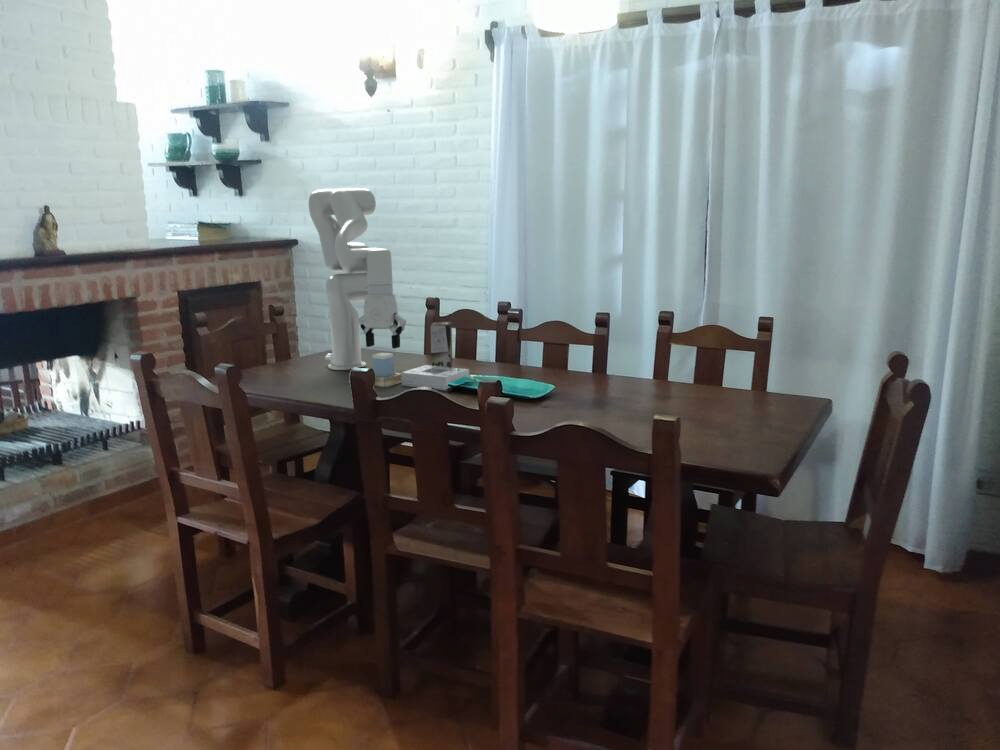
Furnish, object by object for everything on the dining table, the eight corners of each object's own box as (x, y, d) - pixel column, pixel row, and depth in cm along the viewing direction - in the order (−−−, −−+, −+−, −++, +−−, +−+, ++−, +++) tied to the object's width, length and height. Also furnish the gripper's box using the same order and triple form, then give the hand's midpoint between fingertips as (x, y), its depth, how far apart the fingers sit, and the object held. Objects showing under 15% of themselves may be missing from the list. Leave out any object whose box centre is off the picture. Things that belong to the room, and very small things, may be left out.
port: (401, 385, 230) (401, 371, 229) (426, 377, 241) (425, 363, 240) (446, 390, 223) (445, 375, 222) (469, 382, 234) (469, 368, 233)
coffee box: (451, 374, 245) (449, 325, 242) (431, 375, 245) (429, 325, 242) (453, 369, 254) (452, 321, 251) (434, 369, 254) (432, 321, 251)
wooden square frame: (363, 384, 232) (363, 376, 232) (381, 378, 240) (381, 371, 239) (386, 387, 228) (386, 378, 228) (404, 381, 236) (403, 373, 235)
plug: (373, 383, 233) (372, 354, 231) (382, 381, 237) (381, 352, 235) (385, 385, 231) (384, 355, 229) (394, 382, 235) (393, 353, 233)
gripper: (349, 291, 229) (352, 347, 232) (396, 292, 221) (398, 350, 224) (365, 289, 236) (368, 343, 239) (411, 290, 227) (413, 346, 230)
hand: (383, 347), depth 231 cm, fingers open, 9 cm apart
